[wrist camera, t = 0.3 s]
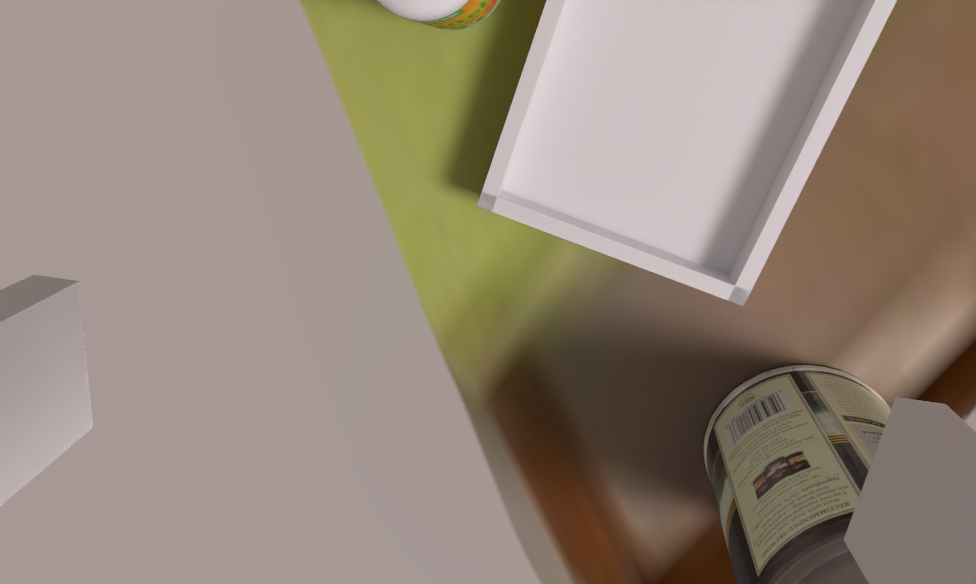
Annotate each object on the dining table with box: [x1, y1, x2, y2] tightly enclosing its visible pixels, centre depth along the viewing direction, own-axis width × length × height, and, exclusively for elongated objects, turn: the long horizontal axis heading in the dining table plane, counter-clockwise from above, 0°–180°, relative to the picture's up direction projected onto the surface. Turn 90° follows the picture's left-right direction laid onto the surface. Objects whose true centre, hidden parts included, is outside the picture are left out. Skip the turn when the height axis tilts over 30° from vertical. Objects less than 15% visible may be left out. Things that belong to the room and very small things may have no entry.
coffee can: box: [704, 365, 891, 584], centre depth 32 cm, size 10×10×14 cm
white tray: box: [477, 0, 897, 306], centre depth 32 cm, size 20×14×2 cm
